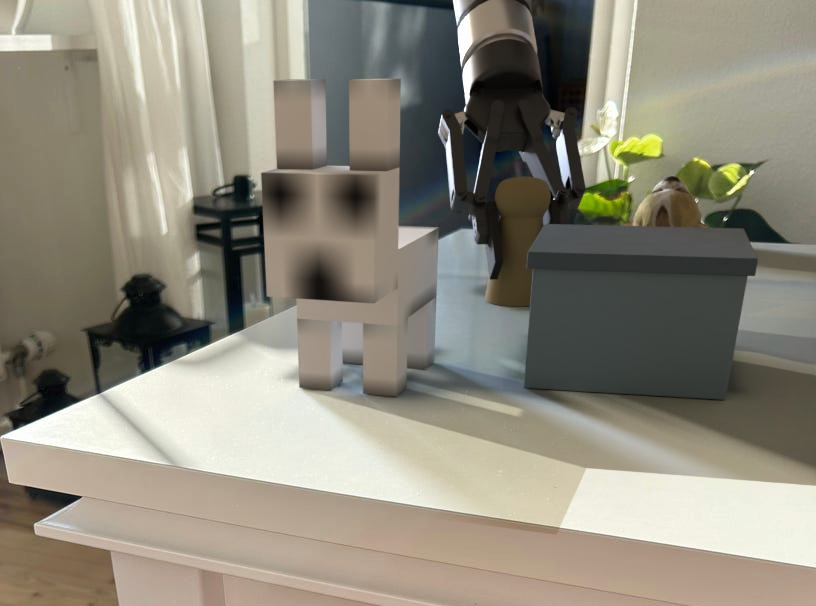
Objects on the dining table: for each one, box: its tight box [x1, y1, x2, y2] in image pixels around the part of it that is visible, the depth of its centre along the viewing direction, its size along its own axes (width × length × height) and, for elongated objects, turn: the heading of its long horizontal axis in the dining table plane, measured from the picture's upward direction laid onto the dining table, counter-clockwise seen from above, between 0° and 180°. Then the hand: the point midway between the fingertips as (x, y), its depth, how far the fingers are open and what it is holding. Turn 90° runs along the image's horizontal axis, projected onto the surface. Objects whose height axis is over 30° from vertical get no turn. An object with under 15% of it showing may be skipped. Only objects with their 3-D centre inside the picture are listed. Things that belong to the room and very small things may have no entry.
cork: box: [484, 176, 551, 307], centre depth 98 cm, size 6×6×11 cm
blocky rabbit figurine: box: [260, 78, 440, 398], centre depth 72 cm, size 8×18×20 cm, turn 159°
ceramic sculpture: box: [620, 175, 711, 228], centre depth 118 cm, size 11×9×15 cm
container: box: [523, 224, 759, 401], centre depth 76 cm, size 15×13×10 cm
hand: (527, 269), depth 96 cm, fingers closed on cork, 5 cm apart
